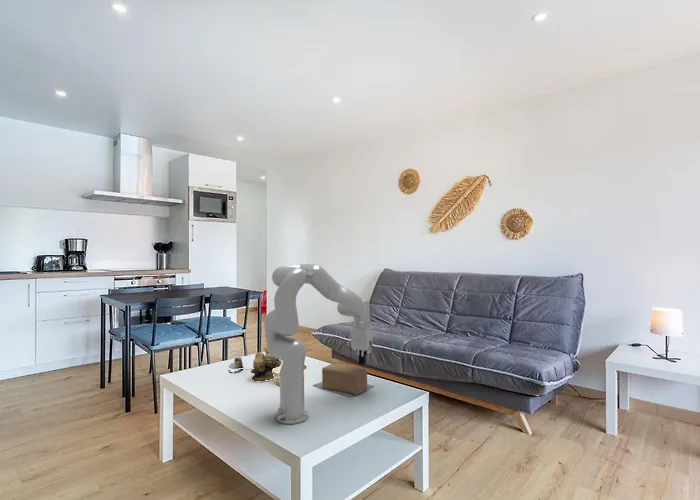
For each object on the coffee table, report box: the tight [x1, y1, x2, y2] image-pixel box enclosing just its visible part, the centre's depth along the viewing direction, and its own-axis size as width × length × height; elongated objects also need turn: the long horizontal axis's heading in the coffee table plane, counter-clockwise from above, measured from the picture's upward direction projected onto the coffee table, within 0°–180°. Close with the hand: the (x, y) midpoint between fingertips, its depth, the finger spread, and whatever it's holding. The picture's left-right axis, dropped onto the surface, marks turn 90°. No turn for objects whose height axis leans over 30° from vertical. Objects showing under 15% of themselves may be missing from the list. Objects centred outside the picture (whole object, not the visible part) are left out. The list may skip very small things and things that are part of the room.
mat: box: [312, 381, 375, 398], centre depth 194 cm, size 18×24×1 cm
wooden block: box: [321, 362, 368, 396], centre depth 190 cm, size 10×10×20 cm
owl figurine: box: [250, 345, 283, 381], centre depth 209 cm, size 18×12×17 cm, turn 136°
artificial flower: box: [228, 357, 244, 370], centre depth 223 cm, size 9×22×10 cm, turn 99°
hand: (362, 364), depth 186 cm, fingers closed
